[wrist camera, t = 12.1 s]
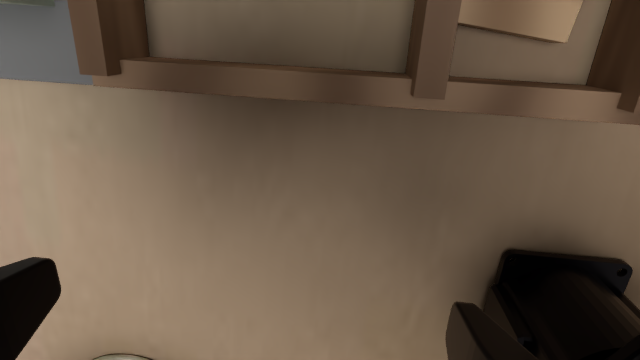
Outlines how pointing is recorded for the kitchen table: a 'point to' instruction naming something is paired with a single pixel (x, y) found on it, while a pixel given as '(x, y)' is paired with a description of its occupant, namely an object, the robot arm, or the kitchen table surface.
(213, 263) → the kitchen table surface
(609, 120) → the rack
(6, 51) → the mat
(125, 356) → the coffee can
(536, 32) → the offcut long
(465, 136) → the kitchen table surface
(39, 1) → the pale green block
